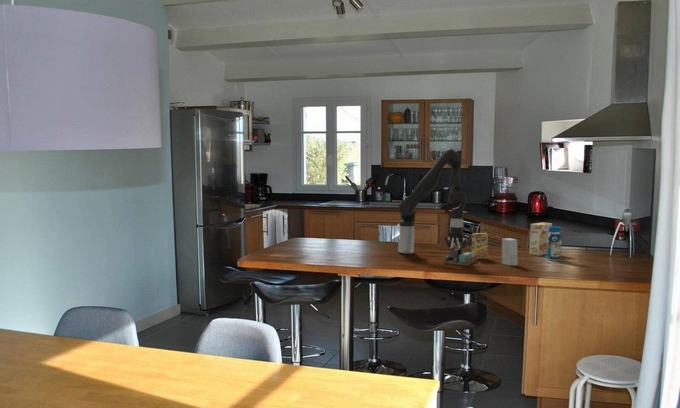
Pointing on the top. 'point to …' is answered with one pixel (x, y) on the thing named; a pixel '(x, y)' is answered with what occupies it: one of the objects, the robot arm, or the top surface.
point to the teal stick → (464, 256)
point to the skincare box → (509, 251)
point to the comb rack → (456, 261)
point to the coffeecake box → (539, 238)
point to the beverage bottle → (554, 243)
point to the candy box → (479, 245)
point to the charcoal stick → (454, 253)
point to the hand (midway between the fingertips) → (455, 254)
